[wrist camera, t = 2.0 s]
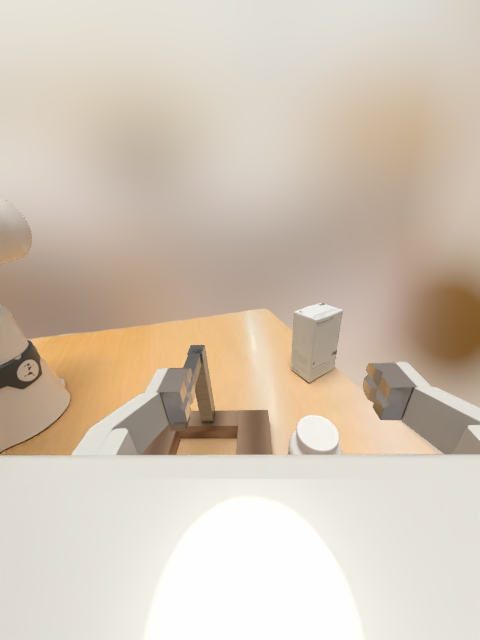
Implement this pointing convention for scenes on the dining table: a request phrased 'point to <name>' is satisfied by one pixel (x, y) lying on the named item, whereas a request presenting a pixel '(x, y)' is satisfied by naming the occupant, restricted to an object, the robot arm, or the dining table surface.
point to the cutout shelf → (220, 432)
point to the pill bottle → (314, 437)
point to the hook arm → (199, 386)
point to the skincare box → (315, 340)
